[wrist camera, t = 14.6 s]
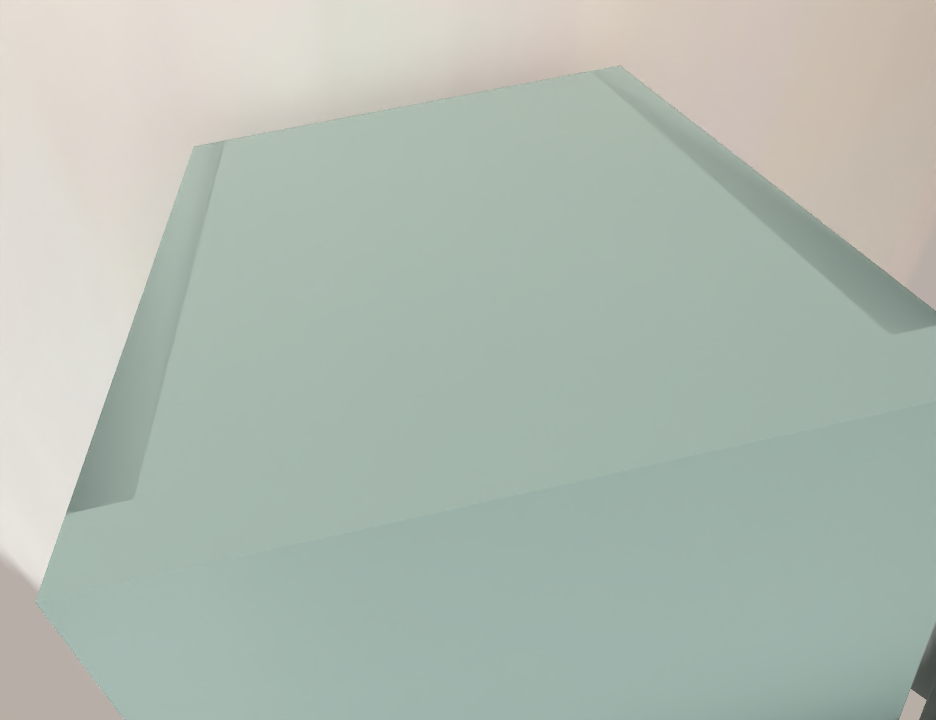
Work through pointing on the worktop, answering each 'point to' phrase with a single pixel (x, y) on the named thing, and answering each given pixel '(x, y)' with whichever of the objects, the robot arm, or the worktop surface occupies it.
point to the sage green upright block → (506, 434)
